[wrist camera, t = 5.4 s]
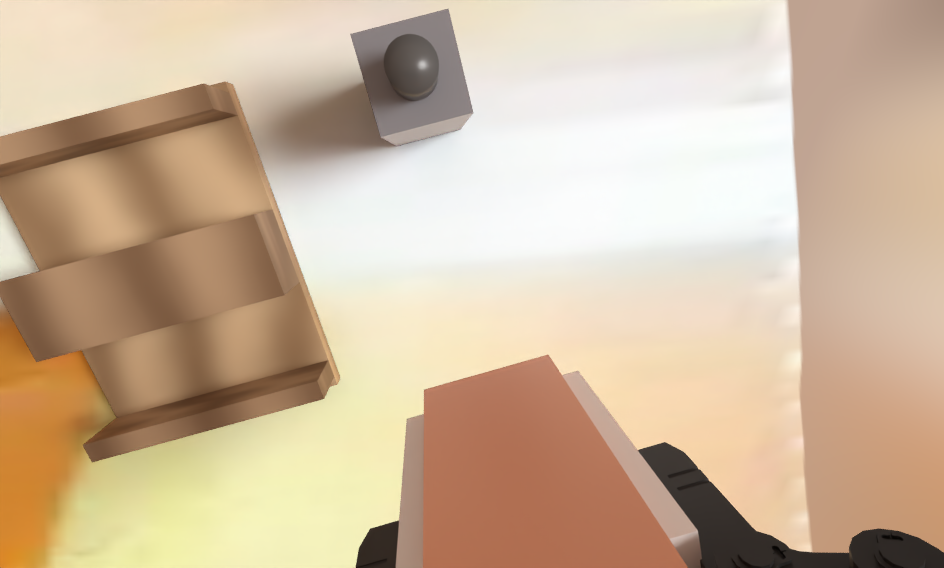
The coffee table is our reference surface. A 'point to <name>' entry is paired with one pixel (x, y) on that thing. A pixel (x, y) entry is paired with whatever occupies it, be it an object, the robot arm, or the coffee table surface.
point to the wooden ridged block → (162, 267)
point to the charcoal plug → (414, 77)
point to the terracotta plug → (528, 480)
